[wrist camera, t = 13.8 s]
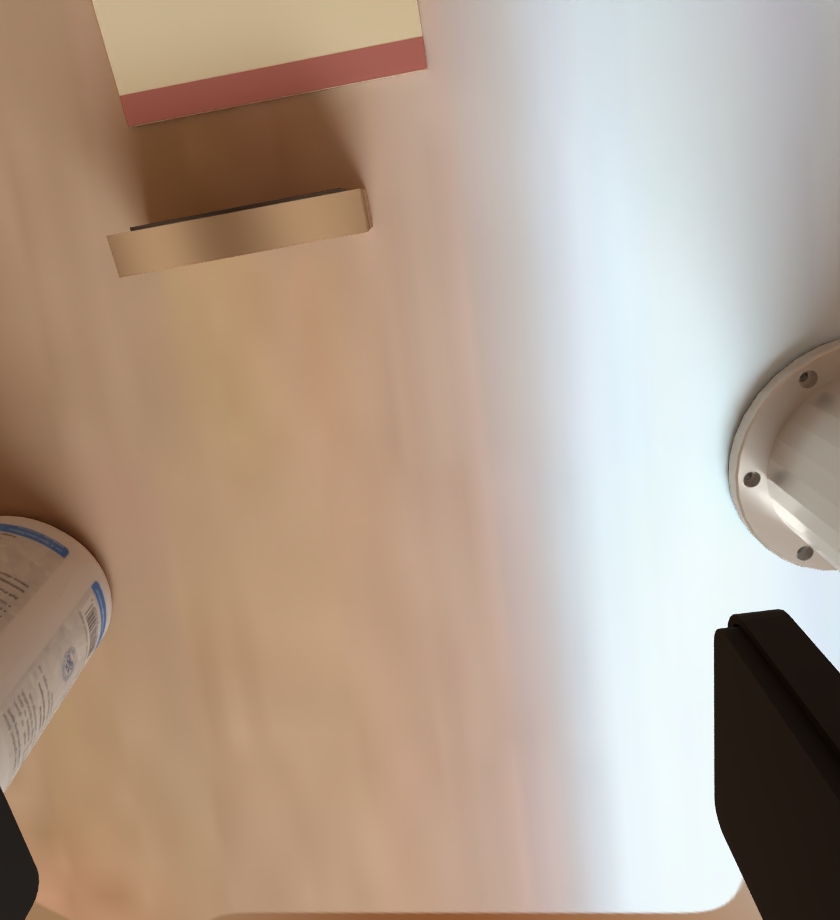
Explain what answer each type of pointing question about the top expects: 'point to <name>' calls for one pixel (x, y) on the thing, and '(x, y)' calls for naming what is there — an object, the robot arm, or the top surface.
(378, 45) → the notepad
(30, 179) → the top surface
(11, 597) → the supplement tub
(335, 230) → the tan rectangular block
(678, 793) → the top surface
